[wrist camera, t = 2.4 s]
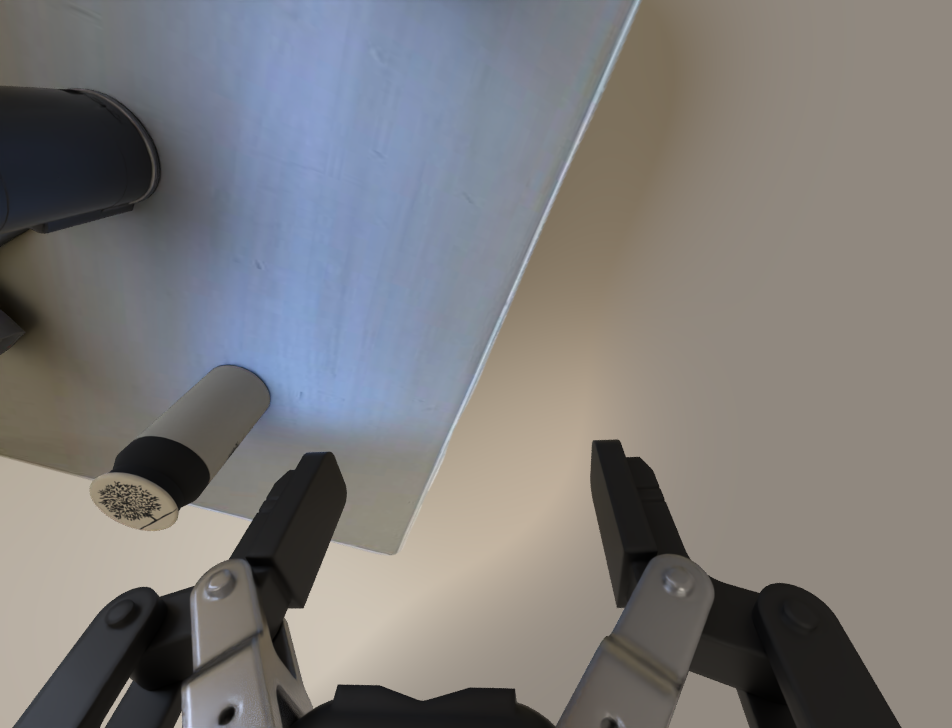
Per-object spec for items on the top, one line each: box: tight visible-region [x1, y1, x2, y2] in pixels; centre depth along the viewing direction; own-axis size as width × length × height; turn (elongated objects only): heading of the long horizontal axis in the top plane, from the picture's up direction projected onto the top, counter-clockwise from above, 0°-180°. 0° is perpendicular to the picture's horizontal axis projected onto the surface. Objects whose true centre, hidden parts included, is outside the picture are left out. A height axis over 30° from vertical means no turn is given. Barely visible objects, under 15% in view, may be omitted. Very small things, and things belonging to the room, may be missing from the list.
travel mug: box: [90, 365, 270, 531], centre depth 45 cm, size 8×8×18 cm
